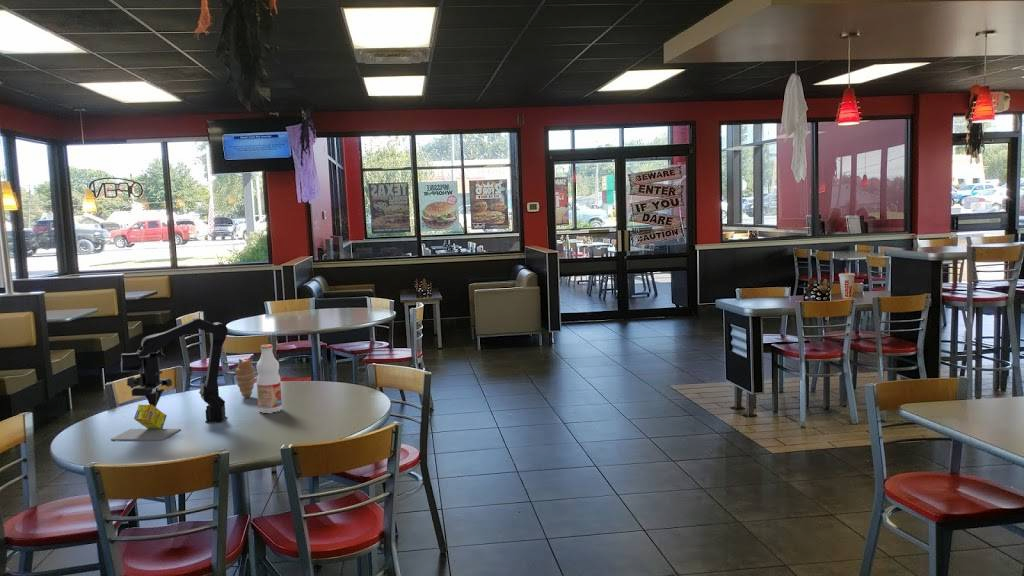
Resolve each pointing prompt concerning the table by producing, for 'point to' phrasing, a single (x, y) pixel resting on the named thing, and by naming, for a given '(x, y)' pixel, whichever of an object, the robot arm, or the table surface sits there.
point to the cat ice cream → (245, 377)
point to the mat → (146, 434)
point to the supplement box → (150, 417)
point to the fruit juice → (268, 381)
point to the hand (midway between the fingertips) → (153, 409)
